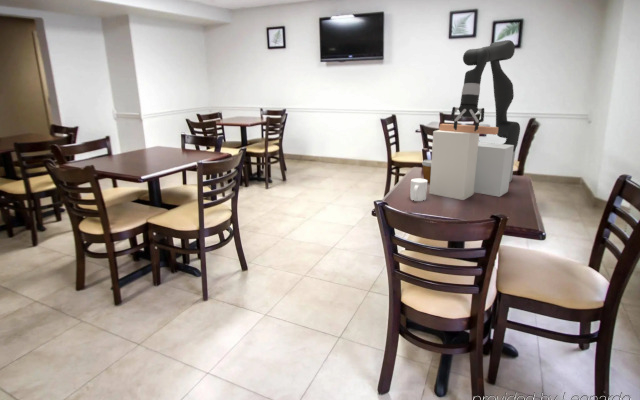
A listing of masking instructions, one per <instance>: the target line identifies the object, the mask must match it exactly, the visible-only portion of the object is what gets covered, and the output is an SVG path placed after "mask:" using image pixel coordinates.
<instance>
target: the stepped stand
mask: <svg viewBox="0 0 640 400" xmlns="http://www.w3.org/2000/svg"><path fill="white" fill-rule="evenodd" d="M479 141H480V133H467V132H454V131H440V129H437V130H434V131H432V146H431V147H432V148H431V159H430V160H431V176H430V183H429V194H431V195H435V196H438V197H439V196H441V197H443V198H444V197H446V198H451V199H456V200H461V201H465V200H466V199H468V198H470V197H471V196H473V195H474V194H476V193H477V194H481V195H488V196H492V197H502V196H503V195H505V194H506V193H508V192H509V186H510V182H509V180H510V172H511V164H512V156H513V148H514V145H506V144H504V143H495V142H494V143H493V142H481V141H480V142H479Z"/></svg>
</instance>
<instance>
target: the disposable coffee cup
mask: <svg viewBox="0 0 640 400" xmlns="http://www.w3.org/2000/svg"><path fill="white" fill-rule="evenodd" d="M431 160H432V159H423V161H422V162H421V164H422V173H423V179H426V180H427V181H428V182H427V184H430V176H431Z"/></svg>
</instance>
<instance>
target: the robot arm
mask: <svg viewBox="0 0 640 400" xmlns="http://www.w3.org/2000/svg"><path fill="white" fill-rule="evenodd" d="M515 49H516V48H515V43H514V41H512V40H511V39H510V40H508V39H507V40H501V41H495V42H492V43H490V44H489V45H488V46H482V47H480V48H479V47H478V48H471V49H470V48H469V49H467V50H466V51H464V53H463V56H462V61H463V63H464V64H465V66H468V67H469V66H475V67H474V68H473V69H470V70H467V71H466V72H465V73H464V74H465V75H464V80H463V86H462V89H461V98H460V104H459V107H455V106H453V107H452V108H451V109H452V110H451V113H450V120H451V121H452V122H453V124H454V129H455V130H457V125H459V122H458V121H459V120H460V119H461V118H462V117H463V118H471V119H472V118H473V119H474V121H475V125H474V126H475V129H474V131H476V130H478V126H480V125H479V124H480V123H483V122H484V120H485V108H484V107H481V108H478V106H479V100H480V99H479V97H480V94H481V93H480V90H481V82H482V75H483V72H484V70H485V67H486V65H487V63H489V64H490V68H491V73H492V74H491V75H492V83H493V97H494V103H495V104H494V106H495V127H498V134H496V135H497V137H499V138H502V139H503V138H504V139H506V140H505V142H504V143H503V144H506V145H514V148H513V156H512V164H511V172H510V180H509V183H511V182H512V180H513V173H514V166H515V165H514V164H515V158H516V157H515V156H516V150H517V149H516V148H517V147H518V144H519V139H520V133H521V125H520V123H519V122H517V121H510V120H508V110H509V108H510V105H511V104H512V102H513V101H514V97H515V94H514V84H513V82H512V80H511V79H510V78H509V77H508V75H507V74H506V73H505V72H504V71H503V69H502V66H501V64H500V61H501V62H502V61H507V60H510V59H512V58H513V57H514V55H515V51H516V50H515ZM458 111H459V114H458V115H457V116H456V117H455V114H456V113H457V112H458ZM478 112H479V114H480V119H478V117H477V115H476V114H477V113H478Z"/></svg>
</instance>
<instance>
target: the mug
mask: <svg viewBox="0 0 640 400" xmlns="http://www.w3.org/2000/svg"><path fill="white" fill-rule="evenodd" d="M427 182H428V181H427V180H426V179H424V178H420V177H417V178H411V180H410V187H409V188H410V190H409V192H410V193H409V195H410V197H409V198H410V200H411V201H413V200H414V201H413V202H424V201H426V200H427V190H428V183H427ZM423 200H424V201H423Z"/></svg>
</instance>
